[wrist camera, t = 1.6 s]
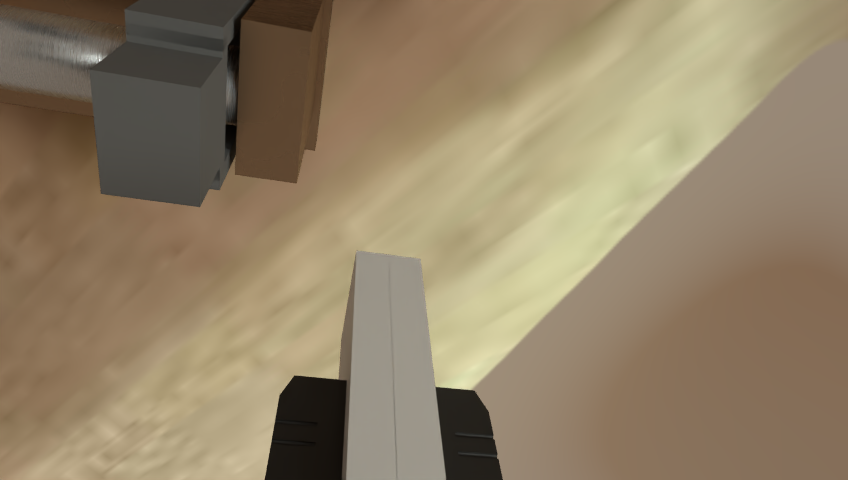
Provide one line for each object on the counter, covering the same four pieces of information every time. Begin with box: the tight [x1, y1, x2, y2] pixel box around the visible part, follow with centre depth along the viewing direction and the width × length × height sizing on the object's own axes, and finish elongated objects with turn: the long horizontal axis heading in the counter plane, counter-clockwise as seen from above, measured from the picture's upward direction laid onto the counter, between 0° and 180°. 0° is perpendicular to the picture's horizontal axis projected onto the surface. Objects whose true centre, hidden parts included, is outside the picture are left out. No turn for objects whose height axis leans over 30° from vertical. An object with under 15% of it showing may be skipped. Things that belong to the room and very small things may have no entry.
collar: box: [89, 0, 254, 207], centre depth 22 cm, size 6×3×9 cm, turn 168°
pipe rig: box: [0, 0, 333, 183], centre depth 24 cm, size 10×23×9 cm, turn 78°
